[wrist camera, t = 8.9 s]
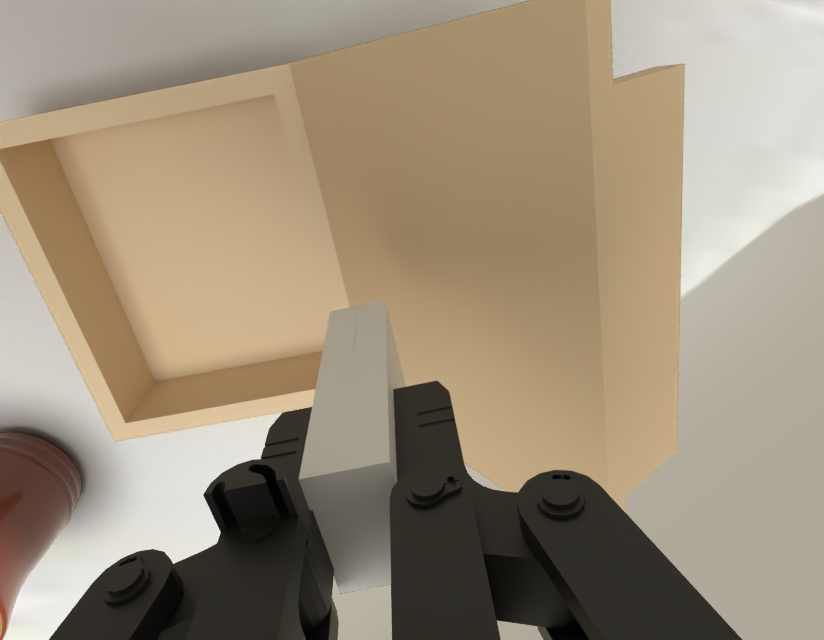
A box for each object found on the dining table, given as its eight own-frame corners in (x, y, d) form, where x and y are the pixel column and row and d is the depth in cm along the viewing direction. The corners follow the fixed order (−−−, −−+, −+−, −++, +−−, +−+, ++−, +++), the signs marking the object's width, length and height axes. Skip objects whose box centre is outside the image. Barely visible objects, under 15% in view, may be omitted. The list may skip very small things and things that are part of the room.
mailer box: (29, 118, 28) (-41, 130, 23) (307, 62, 27) (291, 62, 23) (150, 391, 34) (114, 442, 30) (375, 350, 34) (374, 395, 29)
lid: (585, -15, 11) (690, -31, 13) (288, 62, 22) (369, 48, 24) (611, 561, 18) (679, 497, 20) (374, 403, 29) (431, 371, 31)
